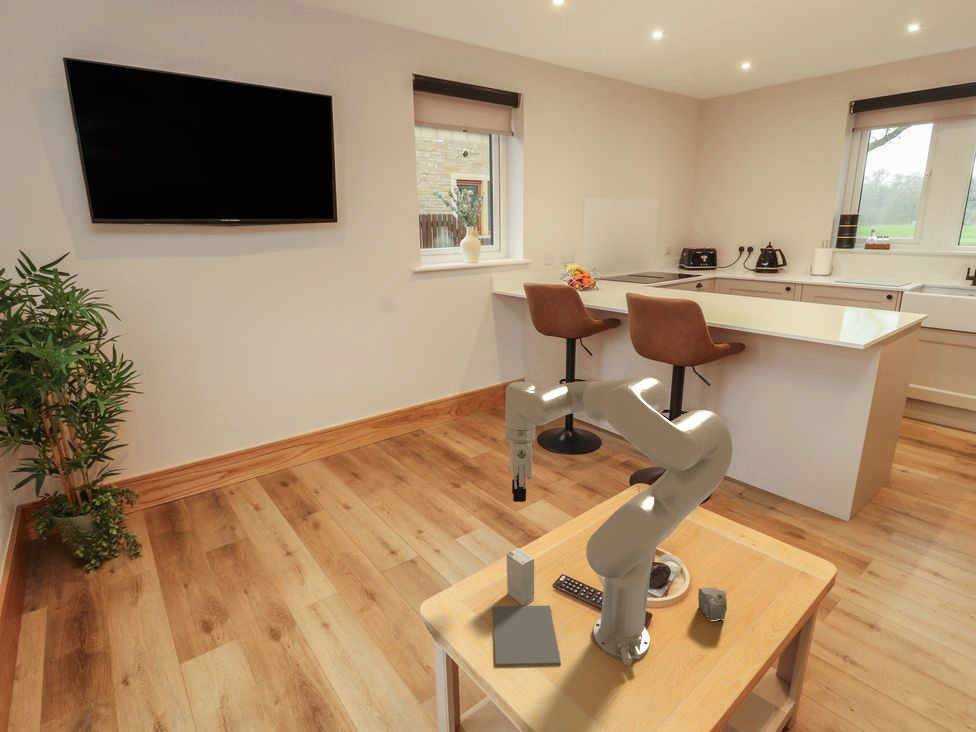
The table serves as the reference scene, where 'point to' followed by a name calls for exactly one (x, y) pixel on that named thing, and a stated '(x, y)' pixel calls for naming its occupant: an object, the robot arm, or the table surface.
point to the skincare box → (520, 576)
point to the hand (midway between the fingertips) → (518, 496)
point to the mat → (524, 636)
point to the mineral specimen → (713, 602)
